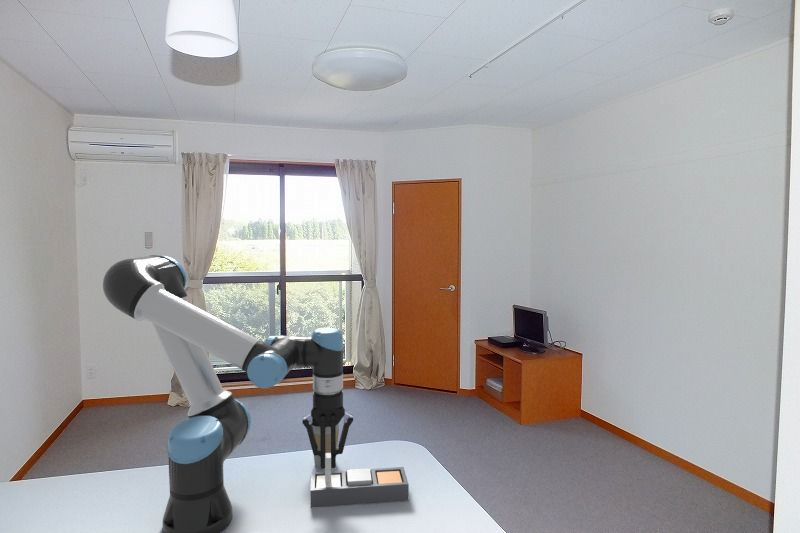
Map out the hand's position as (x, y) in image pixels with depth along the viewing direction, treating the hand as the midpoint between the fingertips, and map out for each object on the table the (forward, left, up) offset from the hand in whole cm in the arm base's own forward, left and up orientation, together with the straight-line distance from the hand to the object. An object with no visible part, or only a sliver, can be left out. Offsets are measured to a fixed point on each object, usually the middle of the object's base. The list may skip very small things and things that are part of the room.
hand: (328, 479), depth 128 cm
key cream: (0, 0, -2) cm, 2 cm away
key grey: (+8, 0, -1) cm, 8 cm away
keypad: (+8, 0, -5) cm, 9 cm away
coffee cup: (-1, +18, -5) cm, 19 cm away
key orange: (+16, 0, -2) cm, 16 cm away
